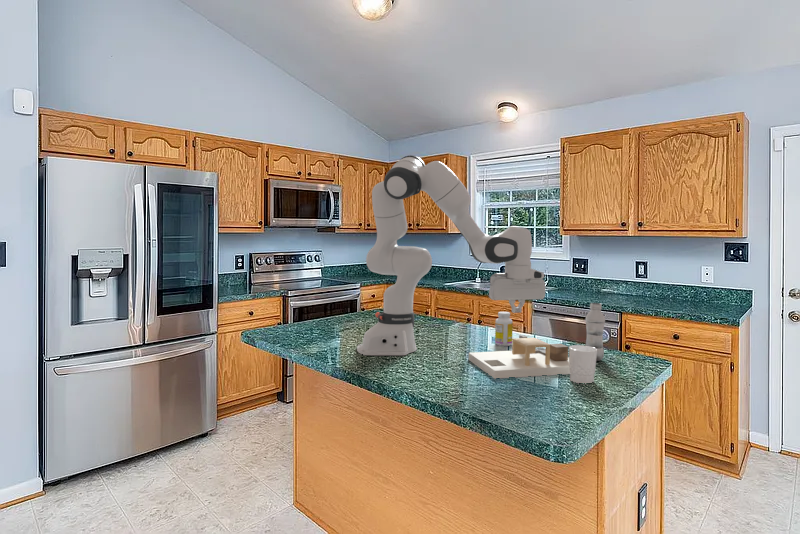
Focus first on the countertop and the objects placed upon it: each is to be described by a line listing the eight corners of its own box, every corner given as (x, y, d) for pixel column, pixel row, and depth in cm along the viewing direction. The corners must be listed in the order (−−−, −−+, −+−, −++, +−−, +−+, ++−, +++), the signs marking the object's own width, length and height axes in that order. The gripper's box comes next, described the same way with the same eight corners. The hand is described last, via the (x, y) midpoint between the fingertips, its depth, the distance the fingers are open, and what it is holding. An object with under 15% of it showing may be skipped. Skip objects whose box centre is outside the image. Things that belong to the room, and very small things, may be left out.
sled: (539, 361, 154) (540, 344, 154) (518, 350, 168) (519, 335, 168) (567, 360, 156) (568, 343, 156) (544, 349, 171) (545, 334, 170)
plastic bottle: (603, 358, 169) (605, 302, 167) (604, 363, 162) (606, 305, 161) (583, 357, 171) (585, 301, 170) (584, 361, 165) (586, 304, 163)
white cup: (563, 377, 147) (564, 345, 146) (588, 376, 148) (589, 345, 147) (574, 385, 139) (576, 351, 138) (600, 384, 140) (602, 351, 139)
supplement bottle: (511, 342, 192) (511, 311, 191) (513, 346, 186) (514, 314, 185) (494, 342, 193) (494, 310, 192) (495, 346, 186) (496, 313, 185)
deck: (494, 378, 145) (495, 349, 144) (468, 359, 166) (469, 334, 165) (585, 372, 151) (586, 345, 151) (549, 355, 173) (549, 330, 172)
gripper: (494, 273, 160) (493, 314, 161) (548, 273, 166) (546, 313, 166) (486, 272, 166) (485, 311, 167) (538, 272, 172) (537, 310, 173)
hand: (516, 312), depth 167 cm, fingers closed
